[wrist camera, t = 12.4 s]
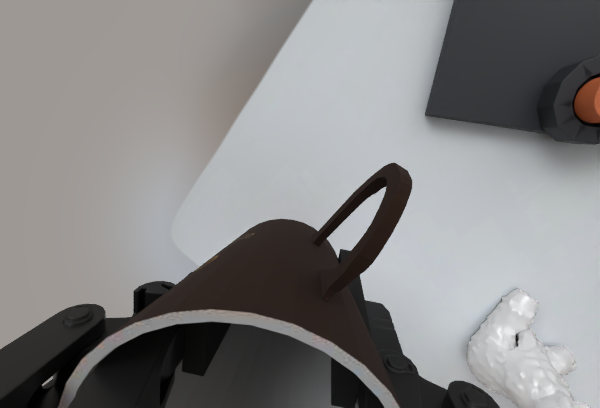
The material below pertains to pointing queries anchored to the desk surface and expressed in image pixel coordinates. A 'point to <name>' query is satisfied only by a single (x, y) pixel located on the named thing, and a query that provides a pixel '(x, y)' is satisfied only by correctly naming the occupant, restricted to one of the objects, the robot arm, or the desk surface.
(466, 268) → the desk surface
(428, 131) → the desk surface
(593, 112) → the button
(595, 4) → the scale
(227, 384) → the coffee mug
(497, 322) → the sitting furry creature
